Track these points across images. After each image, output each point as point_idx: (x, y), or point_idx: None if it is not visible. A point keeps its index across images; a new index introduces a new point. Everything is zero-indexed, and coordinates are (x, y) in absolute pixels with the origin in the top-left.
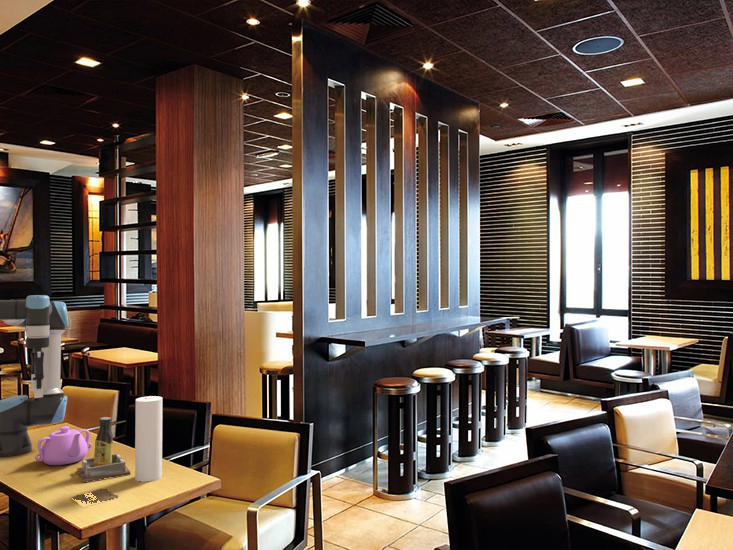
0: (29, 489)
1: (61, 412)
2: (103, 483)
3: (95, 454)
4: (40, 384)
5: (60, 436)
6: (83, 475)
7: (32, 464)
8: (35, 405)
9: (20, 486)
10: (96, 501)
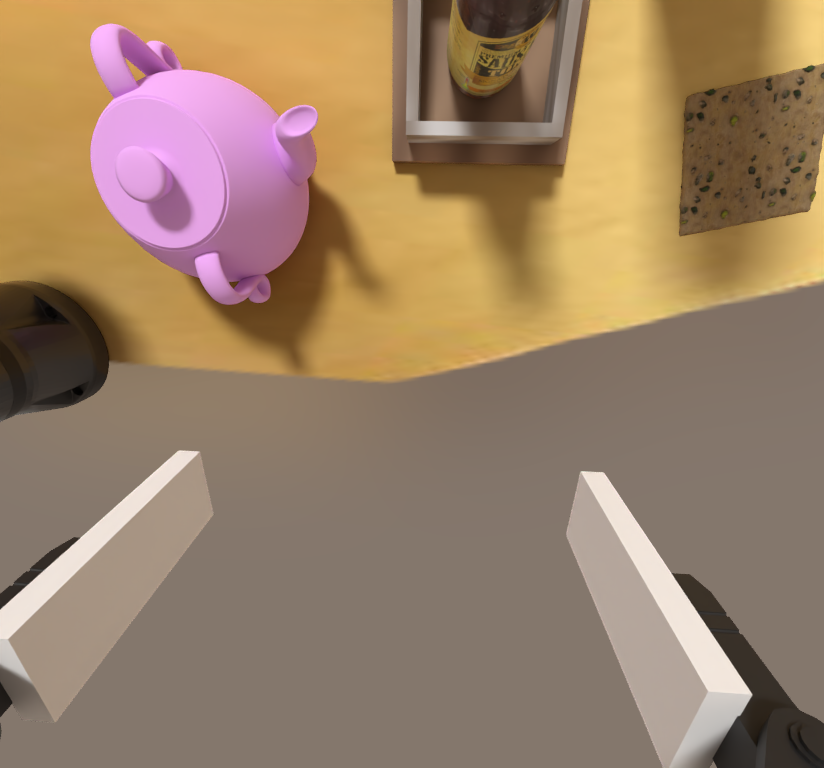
0: (498, 334)
1: None
2: (621, 90)
3: (505, 71)
4: (735, 641)
5: (227, 208)
6: (503, 153)
7: None
8: None
9: (451, 353)
10: (805, 158)
